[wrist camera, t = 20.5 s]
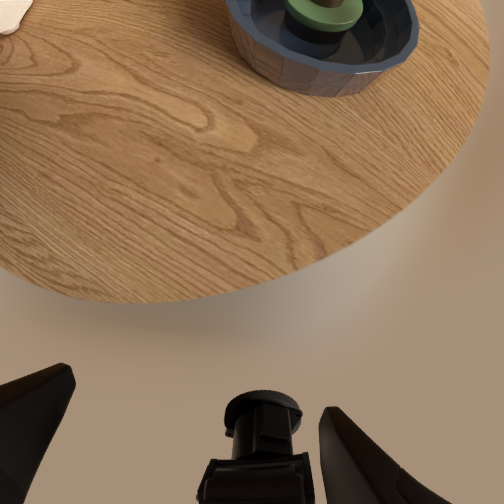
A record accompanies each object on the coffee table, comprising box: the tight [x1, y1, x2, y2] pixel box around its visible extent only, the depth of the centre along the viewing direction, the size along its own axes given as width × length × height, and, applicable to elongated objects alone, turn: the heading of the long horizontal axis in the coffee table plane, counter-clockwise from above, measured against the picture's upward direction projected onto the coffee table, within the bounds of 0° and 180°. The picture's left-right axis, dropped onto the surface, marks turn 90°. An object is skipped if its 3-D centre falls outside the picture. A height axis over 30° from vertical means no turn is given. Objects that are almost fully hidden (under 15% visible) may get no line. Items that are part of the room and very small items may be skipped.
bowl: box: [224, 0, 419, 97], centre depth 13 cm, size 12×12×6 cm
